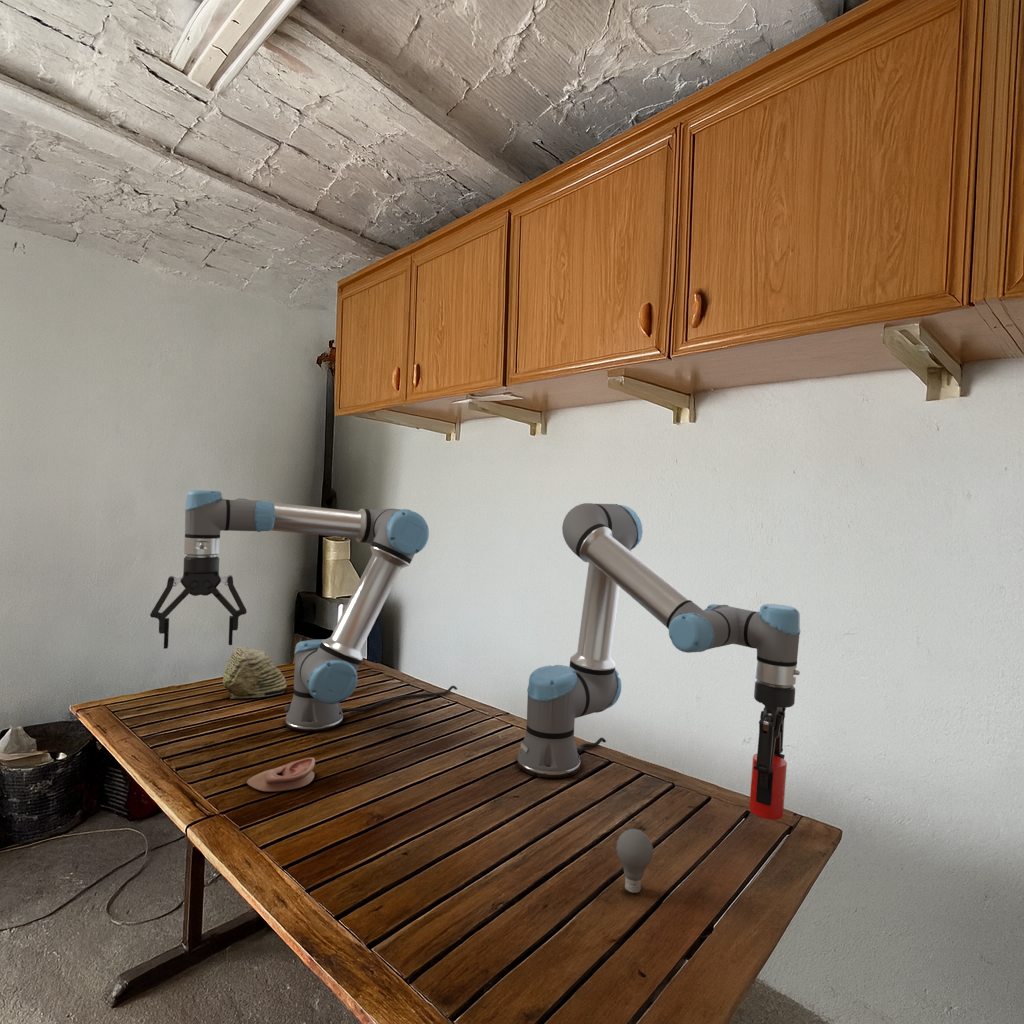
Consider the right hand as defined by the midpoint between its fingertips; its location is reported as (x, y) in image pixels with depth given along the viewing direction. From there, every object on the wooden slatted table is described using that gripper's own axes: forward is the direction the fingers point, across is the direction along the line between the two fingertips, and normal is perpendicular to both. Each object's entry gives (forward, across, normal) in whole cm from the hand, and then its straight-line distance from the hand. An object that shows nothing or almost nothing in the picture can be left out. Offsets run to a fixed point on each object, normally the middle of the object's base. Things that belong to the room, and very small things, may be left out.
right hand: (767, 796), depth 127 cm
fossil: (+10, -13, +149) cm, 150 cm away
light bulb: (+7, -35, +14) cm, 38 cm away
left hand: (-18, -50, +118) cm, 130 cm away
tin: (+3, 0, 0) cm, 3 cm away
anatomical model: (+9, -45, +92) cm, 103 cm away
